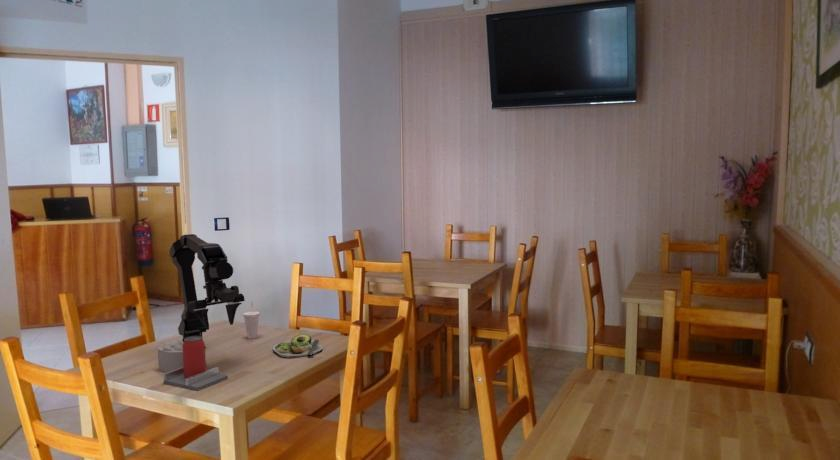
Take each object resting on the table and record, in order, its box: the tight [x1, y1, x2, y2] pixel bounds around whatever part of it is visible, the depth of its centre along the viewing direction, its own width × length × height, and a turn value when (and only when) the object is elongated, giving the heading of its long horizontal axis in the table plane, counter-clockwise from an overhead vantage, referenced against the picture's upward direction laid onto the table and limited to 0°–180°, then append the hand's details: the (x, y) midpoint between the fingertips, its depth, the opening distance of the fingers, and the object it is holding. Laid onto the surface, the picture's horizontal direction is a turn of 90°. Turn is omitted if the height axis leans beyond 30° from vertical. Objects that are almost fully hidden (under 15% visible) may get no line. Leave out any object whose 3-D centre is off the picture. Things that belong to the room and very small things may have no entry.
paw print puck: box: [157, 339, 184, 373], centre depth 206 cm, size 10×13×9 cm
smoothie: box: [242, 301, 261, 339], centre depth 242 cm, size 6×6×14 cm
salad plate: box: [272, 333, 323, 359], centre depth 223 cm, size 19×18×5 cm
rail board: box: [162, 366, 229, 392], centre depth 193 cm, size 12×15×3 cm
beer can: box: [182, 336, 207, 378], centre depth 195 cm, size 7×7×12 cm
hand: (219, 327), depth 208 cm, fingers open, 9 cm apart
